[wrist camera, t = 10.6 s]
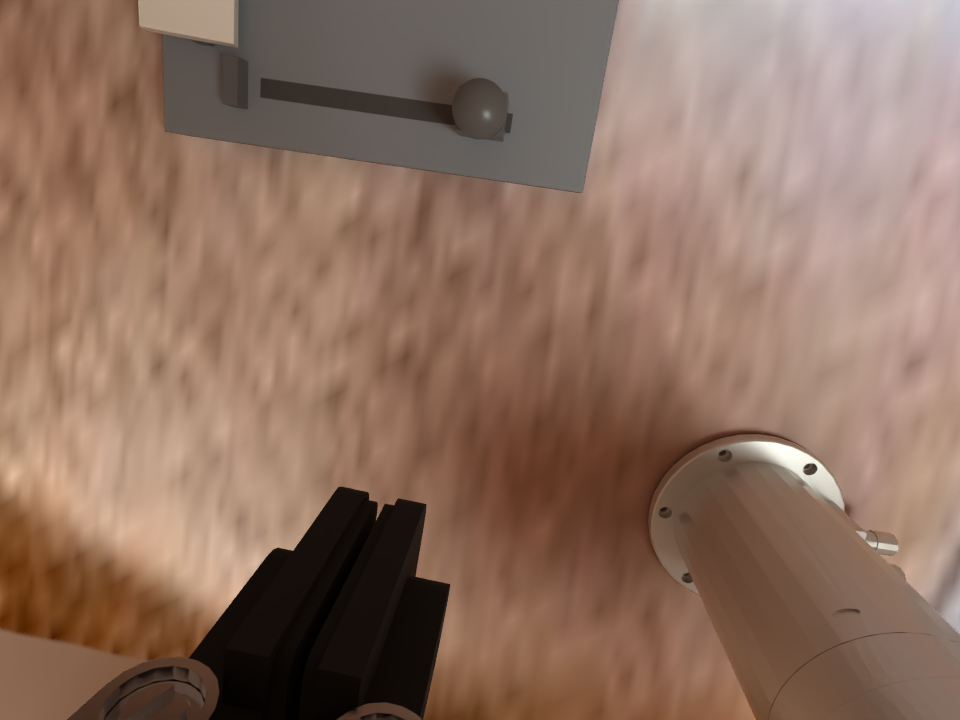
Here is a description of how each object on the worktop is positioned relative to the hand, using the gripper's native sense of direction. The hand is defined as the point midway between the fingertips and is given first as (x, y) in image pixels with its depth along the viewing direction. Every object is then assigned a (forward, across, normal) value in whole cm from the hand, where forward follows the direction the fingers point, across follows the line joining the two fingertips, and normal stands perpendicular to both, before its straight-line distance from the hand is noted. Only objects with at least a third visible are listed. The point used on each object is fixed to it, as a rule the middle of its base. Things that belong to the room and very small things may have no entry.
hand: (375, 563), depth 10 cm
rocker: (+21, +18, -14) cm, 31 cm away
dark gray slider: (+23, +2, -11) cm, 26 cm away
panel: (+25, +8, -14) cm, 30 cm away
